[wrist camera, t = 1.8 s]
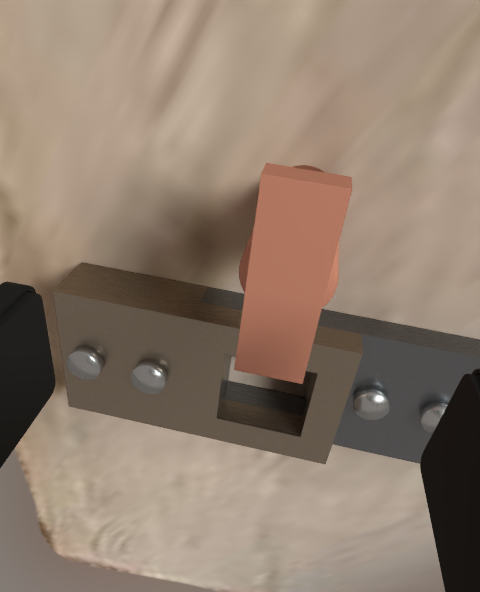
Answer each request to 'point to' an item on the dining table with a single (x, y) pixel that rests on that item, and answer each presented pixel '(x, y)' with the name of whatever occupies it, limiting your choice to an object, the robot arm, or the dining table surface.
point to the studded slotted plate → (243, 398)
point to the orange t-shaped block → (289, 268)
